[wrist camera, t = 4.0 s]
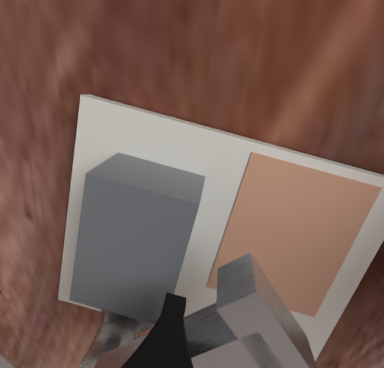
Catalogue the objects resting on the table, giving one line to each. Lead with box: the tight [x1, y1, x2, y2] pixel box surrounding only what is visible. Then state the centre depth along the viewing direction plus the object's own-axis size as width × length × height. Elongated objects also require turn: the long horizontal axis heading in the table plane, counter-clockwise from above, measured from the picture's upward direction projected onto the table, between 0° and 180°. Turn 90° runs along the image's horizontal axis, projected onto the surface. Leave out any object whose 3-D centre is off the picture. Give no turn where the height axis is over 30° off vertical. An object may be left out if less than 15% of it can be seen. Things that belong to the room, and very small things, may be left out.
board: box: [58, 94, 384, 361], centre depth 18 cm, size 18×15×1 cm
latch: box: [79, 252, 317, 368], centre depth 14 cm, size 5×12×8 cm, turn 124°
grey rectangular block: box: [69, 152, 205, 325], centre depth 15 cm, size 5×7×4 cm
